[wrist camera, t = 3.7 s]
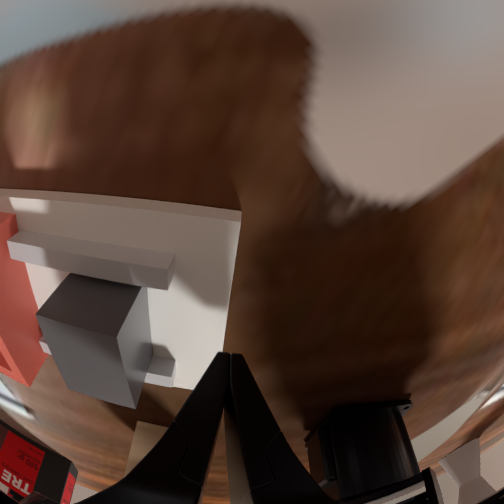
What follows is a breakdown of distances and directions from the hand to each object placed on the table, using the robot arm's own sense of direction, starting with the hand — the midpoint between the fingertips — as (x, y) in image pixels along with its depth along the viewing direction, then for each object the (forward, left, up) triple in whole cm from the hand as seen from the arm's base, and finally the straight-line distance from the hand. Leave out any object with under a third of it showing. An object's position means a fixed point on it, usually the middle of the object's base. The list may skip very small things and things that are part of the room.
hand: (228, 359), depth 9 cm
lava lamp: (-43, +31, -3) cm, 53 cm away
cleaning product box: (+31, +40, -3) cm, 51 cm away
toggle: (+5, 0, -1) cm, 5 cm away
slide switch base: (+9, 0, -3) cm, 9 cm away
